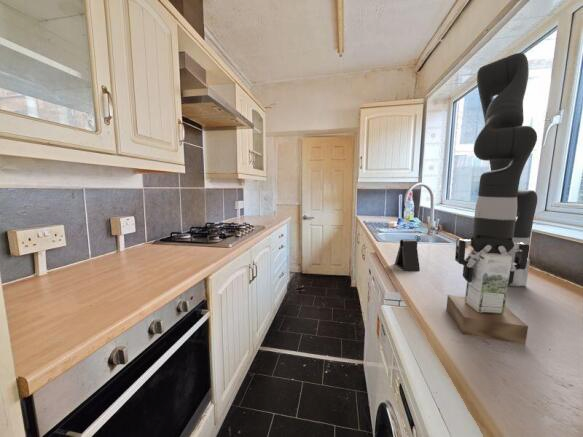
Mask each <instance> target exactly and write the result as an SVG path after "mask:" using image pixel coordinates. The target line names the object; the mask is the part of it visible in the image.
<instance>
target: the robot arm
mask: <svg viewBox="0 0 583 437" xmlns="http://www.w3.org/2000/svg"><path fill="white" fill-rule="evenodd" d="M529 72H530V67H529V61H528V58H527V56H526V54H525V53H523V52H517V53H513V54H510V55H508V56H506V57H502V58H500V59H498V60H495V61H492V62H490V63H488V64H485V65H483V66H480V67H479V69H478V70H477V75H476V83H477V84H476V85H477V92H478V96H479V99H480V100H479V101H480V105H481V109H482V114H483V120H484V126H483V128H482V129H481V131H480V132H479V133H478V135H477V137H476V139H475V142H474V145H473V153H474V155H475V157H476V158H477V159H479V160H481V161H488V162H489V166H490V170H489V171H486V172H482V173H481V175H480V178H479V185H478V194H477V201H476V204H475V209H474V216H473V225H472V226H473V227H472V236H471V238H470V239H462V238H457V239H456V243H455V256H454V259H455V260H454V261H455V262H457V263H458V264H459V265H462V266H463V268H462V277H463V279H464V280H465V281H466V283H467V282H472V274H473V268H472V266H473V265H474V264H475V263H476V262H477V261H479V260H480V258H481V253H484V254H486V253H495V254H501V255H508V256H511V257H512V261H511V268H510V275H509V281H508V287H527V284H528V283H527V282H528V274H529V268H530V262H531V261H530V259H529V252H530V240H531V233H532V228H533V223H534V219H535V213H536V209H537V205H538V195H537V192H536V191H535V190H531V189H520V188H519V187H520V186H519V185H520V183H521V182H520V181H521V177H522V174H523V170H524V168H525V166H526V163H527V162H528V160H529V158H530V156H531V154H532V153H533V150H534V148H535V146H536V144H537V140H538V134H537V131H536V130H535V129H534V128H533V127H532V126H529V125H523V124H524V99H525V95H526V91H527V86H528V82H529V77H530V76H529V74H530V73H529ZM469 245H470V246H471V248H472V249H473V250H472V251H471V250H470V252H469V253H468V255H467V256H465V255H466V249H468V247H469ZM474 250H475V252H477V254H476V255H474V254H473V251H474ZM465 257H466V258H465Z"/></svg>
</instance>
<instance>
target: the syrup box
mask: <svg viewBox="0 0 583 437" xmlns="http://www.w3.org/2000/svg"><path fill="white" fill-rule="evenodd" d="M472 250H473V248H472V249H470V252H471V251H472ZM473 254H474V255H476V254H477V252H475V250H474V251H473ZM511 261H512V257H511V256H508V255H501V254H495V253H486V254H484V253H481V258H480V260H479V261H477V262H476V263H475V264H474V265H473V266H472V268H473V274H472V282H467V281H466V286H465V287H466V289H465V296H464V297H465V302H466V303H467V304H468V305H470V306H471V307H472V308H473V309H475V310H476V311H477V312H479V313H495V314H504V308H505V306H506V301H507V300H506V299H507V293H508V287H509V286H508V281H509V275H510V268H511Z"/></svg>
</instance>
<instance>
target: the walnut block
mask: <svg viewBox="0 0 583 437" xmlns="http://www.w3.org/2000/svg"><path fill="white" fill-rule="evenodd" d="M445 310H446V311H447V313H448V314H449V316H450V318H451V319H452V321H453V322H454V324H455V325H456V326H457V328H458V330H459V331H460V333H461V334H462V335H465V336H471V337H478V338H483V339H484V338H485V339H491V340H496V341H502V342H508V343H509V342H510V343H515V344H522V345H526V342H527V336H528V335H527V334H528V329H529V325H528V324H526V323H525V322H524V321H523V320H521V318H519V317H518V316H517V315H516V314H515V313H514V312H513V311H511V309H509V308H508V307H507V306H506V305H505V308H504V314H495V313H479V312H477V311H476V310H475V309H473V308H472V307H471V306H470V305H468V304H467V303H466V302H465V296H461V295H460V296H459V295H451V294H447V300H446V309H445Z"/></svg>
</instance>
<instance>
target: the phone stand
mask: <svg viewBox="0 0 583 437" xmlns="http://www.w3.org/2000/svg"><path fill="white" fill-rule="evenodd" d="M419 261H420V260H419V253H418V240H417V239H400V240H399V247H398V251H397V255H396V258H395V262H394V265H395V266H397V267H399V268H400V269H402V270H403V271H405V272H420V269H421V268H420V262H419Z"/></svg>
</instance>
